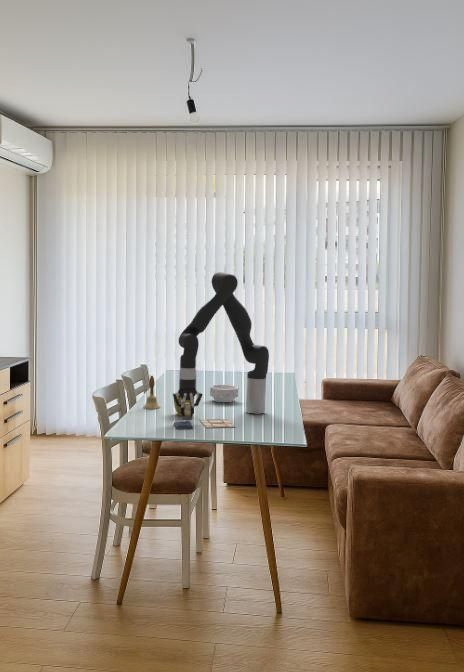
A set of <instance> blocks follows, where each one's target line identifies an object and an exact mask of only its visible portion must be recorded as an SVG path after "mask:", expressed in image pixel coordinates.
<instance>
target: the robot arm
mask: <svg viewBox="0 0 464 672" xmlns="http://www.w3.org/2000/svg"><path fill="white" fill-rule="evenodd" d="M238 283H239V282H238V278H237V277H236V276H235V275H233V274H231V273H228V272H215V273H214V274H213V276H212V278H211V286H212V289H213V291H214V292H215V295H214V296H213V297H212V298H211V299H210V300H209V301H208V302H207V303H205V304H204V305H203V306H201V308H199V310H198V311H197V313H196V314H195V315H194V317H193V319H192V320H191V322H190V323H189V324H188V325H187V326H186V327H185V329H184V330H183V331H182V332H181V333H180V334H179V337H178V344H179V346H180V347H181V348H182V349H183V353H182V355H181V356H180V357H179V358H180V359H179V360H180V361H179V377H178V378H179V382H178V383H179V384H178V385H179V387H178V390H177V392H175V393H174V392H173V393H172V396H173V397H174V398H173V401H174V400H175V402H176V405H177V406H179V407H180V413H181V415H182V416H184V403H185V400H190V403H191V416H193V415H195V408H196V407H198V406H199V404H200V403H201V400H202V397H203V393H201V392H198V391H197V368H196V367H197V355H198V351H199V339H198V338H199V337H198V335H200V334H202V333H204V332H205V330H206V328H207V327H208V325H209V324H210V323H211V321H212V319H213V317H214V316H215V315H216V313H217V312H218V311H219V310H220V309H221V307H222V306H223V309H224V311H225V313H226V315H227V317H228V320H229V322H230V324H231V327H232V328H233V330H234V332H235V335H236V338H237V340H238V342H239V344H240V347H241V351H242V354H243V357H244V359H245V360H246V362H248V363H249V364H252V365H253V364H254V368H253V369H252V370H249V371H248V372H247V374H246V375H247V377H246V378H247V379H246V408H245V412H246V413H247V412H248V413H247V414H249V413H255V414H254V415H260V414H259V413H264V412H265V413H266V394H267V393H266V391H267V389H266V386H267V374H268V371H269V362H270V354H269V353H270V352H269V348H268V347H267V346H265V345H259V344H256V343H254V342H253V340H252V337H251V330H252V325H253V323H252V319H251V317H250V315H249V312H248V310H247V309H246V308H245V306H244V305H243V304H242V303H241V302H240V300H238V298H237V297H236V296H235V295H234V293H235V291H236V290H237V288H238ZM178 395H180V396H181V398H182V399H181V404H180V403H179V402H178V399H177V398H178ZM195 397H196V400H195V399H194V400H193V398H195ZM265 413H264V414H265ZM182 416H181V417H182Z"/></svg>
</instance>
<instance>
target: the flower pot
mask: <svg viewBox="0 0 464 672" xmlns="http://www.w3.org/2000/svg"><path fill="white" fill-rule="evenodd" d="M177 399H178V402H179V403H180V404H181V399H182V398H181V396H180V395H178V398H177ZM195 399H196V398H195V397H194V398H193V400H194V401H195ZM185 403H190V400H185ZM173 405H174V408H175V411H176V414H177V415H178V416H179V417H182V415H181V413H180V407H179V406H177V405H176V402H175V400H174V397H173Z"/></svg>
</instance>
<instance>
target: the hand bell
mask: <svg viewBox="0 0 464 672" xmlns="http://www.w3.org/2000/svg"><path fill="white" fill-rule="evenodd" d="M149 377H150V378H149V381H148V383H149V388H150V390H149V393H150V395H149V396H147V399H146V403H145V404H144V405H143V409H145V408H146V410H159V409H161V406H160V405H159V403H158V401H157V396H155V395H154V394H155V393H154V387H155V377H154V375H150V376H149Z"/></svg>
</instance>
